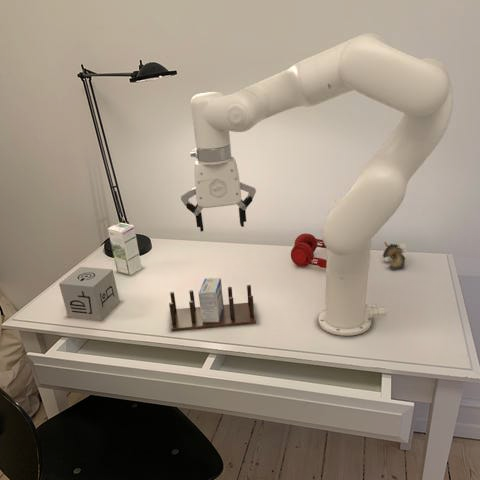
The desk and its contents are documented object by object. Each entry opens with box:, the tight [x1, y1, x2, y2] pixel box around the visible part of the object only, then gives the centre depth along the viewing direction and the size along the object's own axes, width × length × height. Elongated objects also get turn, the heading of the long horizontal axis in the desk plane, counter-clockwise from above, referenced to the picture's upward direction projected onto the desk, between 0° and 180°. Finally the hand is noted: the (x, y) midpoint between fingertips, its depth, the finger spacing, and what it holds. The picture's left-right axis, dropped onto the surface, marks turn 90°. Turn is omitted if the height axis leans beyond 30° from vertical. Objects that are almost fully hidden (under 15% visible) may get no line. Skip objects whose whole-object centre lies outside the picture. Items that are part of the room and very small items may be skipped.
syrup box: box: [107, 222, 143, 276], centre depth 155 cm, size 6×6×14 cm
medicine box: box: [198, 277, 225, 322], centre depth 129 cm, size 8×4×9 cm, turn 173°
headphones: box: [290, 232, 327, 269], centre depth 155 cm, size 15×7×20 cm
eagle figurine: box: [382, 241, 408, 271], centre depth 151 cm, size 8×7×9 cm
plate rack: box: [168, 284, 257, 332], centre depth 130 cm, size 21×10×7 cm, turn 94°
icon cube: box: [58, 266, 120, 322], centre depth 137 cm, size 10×10×10 cm
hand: (222, 227), depth 122 cm, fingers open, 9 cm apart
